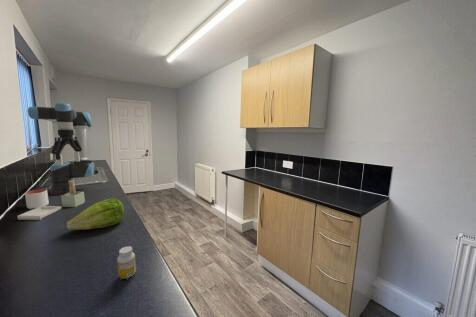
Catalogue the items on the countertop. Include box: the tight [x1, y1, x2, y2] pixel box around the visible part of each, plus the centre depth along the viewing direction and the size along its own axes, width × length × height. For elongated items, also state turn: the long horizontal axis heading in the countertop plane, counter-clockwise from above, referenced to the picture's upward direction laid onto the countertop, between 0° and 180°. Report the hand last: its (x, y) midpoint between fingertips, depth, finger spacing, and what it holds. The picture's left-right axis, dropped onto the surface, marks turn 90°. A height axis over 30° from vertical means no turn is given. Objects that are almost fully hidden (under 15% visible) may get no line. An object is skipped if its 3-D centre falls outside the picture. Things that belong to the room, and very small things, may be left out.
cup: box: [24, 188, 49, 210], centre depth 128 cm, size 10×10×10 cm
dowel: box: [68, 179, 77, 196], centre depth 130 cm, size 3×3×16 cm
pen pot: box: [60, 191, 86, 208], centre depth 131 cm, size 8×8×8 cm
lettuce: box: [66, 198, 125, 231], centre depth 103 cm, size 14×24×15 cm
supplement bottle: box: [117, 245, 137, 278], centre depth 70 cm, size 5×5×10 cm
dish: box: [17, 205, 63, 221], centre depth 117 cm, size 14×12×2 cm
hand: (69, 163), depth 127 cm, fingers open, 13 cm apart
